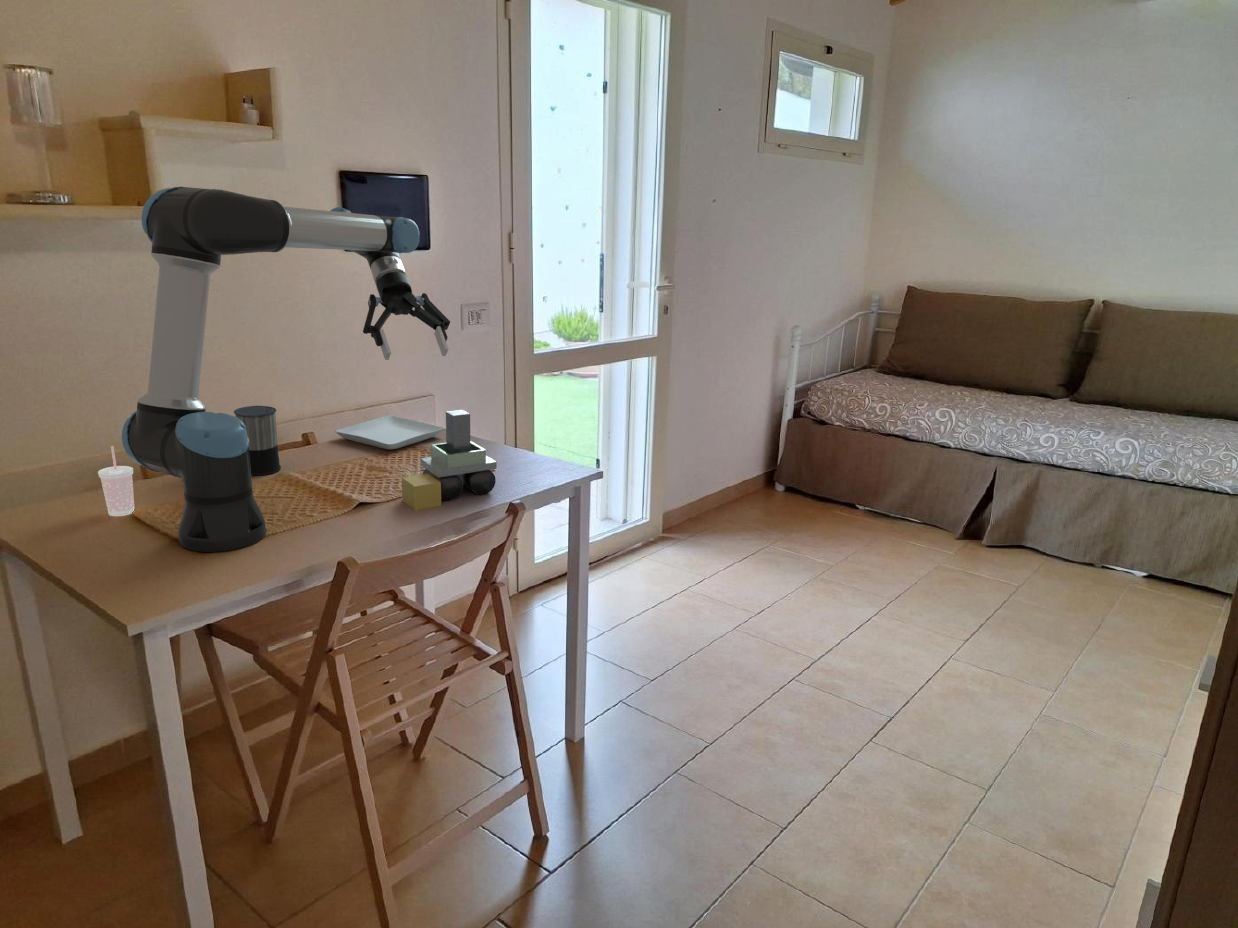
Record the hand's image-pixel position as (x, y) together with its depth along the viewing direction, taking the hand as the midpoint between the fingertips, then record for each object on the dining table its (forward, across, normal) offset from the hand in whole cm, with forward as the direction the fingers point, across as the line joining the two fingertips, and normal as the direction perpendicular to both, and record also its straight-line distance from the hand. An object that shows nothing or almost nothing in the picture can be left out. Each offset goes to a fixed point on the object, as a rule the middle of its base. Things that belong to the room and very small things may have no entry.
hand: (417, 354), depth 187 cm
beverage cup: (+16, -61, +26) cm, 68 cm away
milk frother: (+4, -35, +38) cm, 52 cm away
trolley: (+30, +4, +12) cm, 32 cm away
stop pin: (+24, +4, +7) cm, 26 cm away
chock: (+32, -6, +10) cm, 34 cm away
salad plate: (-4, +6, +46) cm, 47 cm away
